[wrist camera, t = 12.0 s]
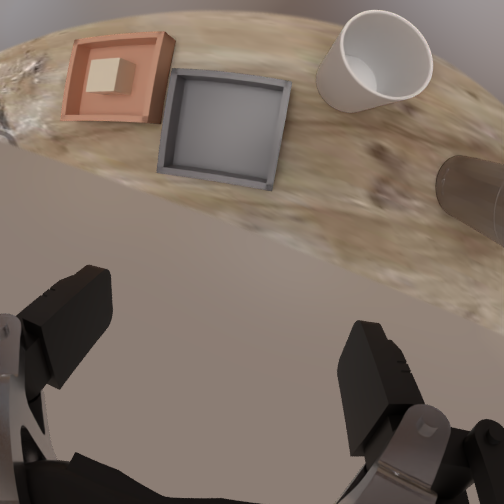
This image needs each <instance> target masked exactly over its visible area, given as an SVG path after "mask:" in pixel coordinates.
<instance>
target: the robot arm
mask: <svg viewBox="0 0 504 504" xmlns="http://www.w3.org/2000/svg"><path fill="white" fill-rule="evenodd" d="M436 193H437V198H438V201H439V203H440V205H441V207H442V208H443V210H444V211H445V212H446V213H448V214H449V215H451V216H453V217H455V218H456V219H458V220H460V221H461V222H463V223H465V224H467V225H468V226H470V227H472V228H473V229H475V230H477V231H478V232H480V233H482V234H483V235H485V236H487V237H488V238H490V239H491V240H493V241H495V242H496V243H498V244H499V245H501V246H502V247H504V164H499V163H495V162H491V161H486V160H481V159H477V158H472V157H467V156H461V155H460V156H454V157H452V158H450V159H449V160H447V161H446V162H445V163H444V164H443V166H442V167H441V169H440V171H439V173H438V176H437V182H436ZM112 314H113V306H112V289H111V274H110V272H109V270H107V269H104V268H100V267H96V266H92V265H86V266H85V267H84V268H82V269H81V270H80V271H78V272H77V273H76V274H75V275H72V276H69V277H67V278H64V279H62V280H59V281H58V282H57V283H56V284H54V285H53V286H52V287H51V288H50V290H49V289H48V290H47V291H46V292H44V293H43V295H42V296H39V297H38V298H37V299H36V300H34V301H33V302H32V303H31V304H30V305H29V306H27V307H26V308H25V309H24V310H22V311H21V312H20V313H19V314H18V315H17V316H14V315H11V314H0V504H259V503H249V502H243V501H235V500H229V499H224V498H170V497H165V496H162V495H160V494H158V493H156V492H154V491H152V490H151V489H149V488H147V487H145V486H143V485H142V484H140V483H138V482H137V481H135V480H133V479H132V478H130V477H129V476H127V475H125V474H124V473H122V472H121V471H119V470H117V469H114V468H112V467H109V466H107V465H104V464H101V463H99V462H97V461H95V460H92V459H90V458H88V457H85V456H83V455H81V454H79V453H76V452H75V454H74V456H73V458H72V460H71V461H70V462H68V461H60V460H57V458H56V455H55V453H54V451H53V448H52V444H51V440H50V434H49V427H48V421H47V413H46V404H45V395H44V392H43V388H44V386H45V385H46V384H49V385H51V386H53V387H55V388H57V389H61V387H62V386H63V384H64V383H65V382H66V381H67V379H68V378H69V377H70V375H71V374H72V373H73V371H74V370H75V369H76V367H77V366H78V365H79V363H80V362H81V361H82V360H83V358H84V357H85V356H86V354H87V353H88V352H89V350H90V349H91V348H92V347H93V345H94V344H95V343H96V341H97V340H98V339H99V338H100V336H101V335H102V334H103V333H104V332H105V330H106V329H107V328H108V326H109V324H110V322H111V319H112ZM410 371H411V370H410V368H409V366H408V364H406V360H405V357H404V355H403V353H402V351H401V350H400V349H399V348H398V346H397V345H396V344H395V343H394V342H393V341H392V340H387V338H386V335H385V333H384V331H383V328H382V326H381V325H380V324H379V323H374V322H366V321H360V320H358V321H356V322H355V323H354V325H353V327H352V330H351V332H350V335H349V337H348V340H347V342H346V345H345V347H344V349H343V352H342V354H341V356H340V359H339V363H338V369H337V376H338V381H339V387H340V392H341V398H342V404H343V410H344V416H345V422H346V429H347V435H348V441H349V449H350V456H365V462H366V463H365V464H364V465H363V466H362V468H361V469H360V470H359V472H358V473H357V475H356V476H355V477H354V479H353V480H352V481H351V483H350V484H349V485H348V487H347V488H346V489H345V490H344V492H343V493H342V494H341V496H340V497H339V498H338V499H337V501H336V502H335V503H334V504H469V500H468V496H467V492H466V489H467V488H468V487H470V486H471V485H472V484H473V483H475V487H476V490H477V494H478V498H479V501H480V504H504V428H503V427H502V426H501V425H500V424H499V423H497V422H495V421H493V420H489V419H484V420H481V421H479V422H478V423H477V424H476V425H475V427H474V428H473V429H472V430H471V431H466V430H461V429H457V428H452V427H450V423H449V421H448V419H447V418H446V416H445V415H444V414H443V413H442V412H441V411H440V410H438V409H437V408H435V407H433V406H430V405H426V404H425V403H424V400H423V398H422V396H421V393H420V391H419V389H418V386H417V384H416V382H415V379H414V377H413V375H412V373H410Z"/></svg>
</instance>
